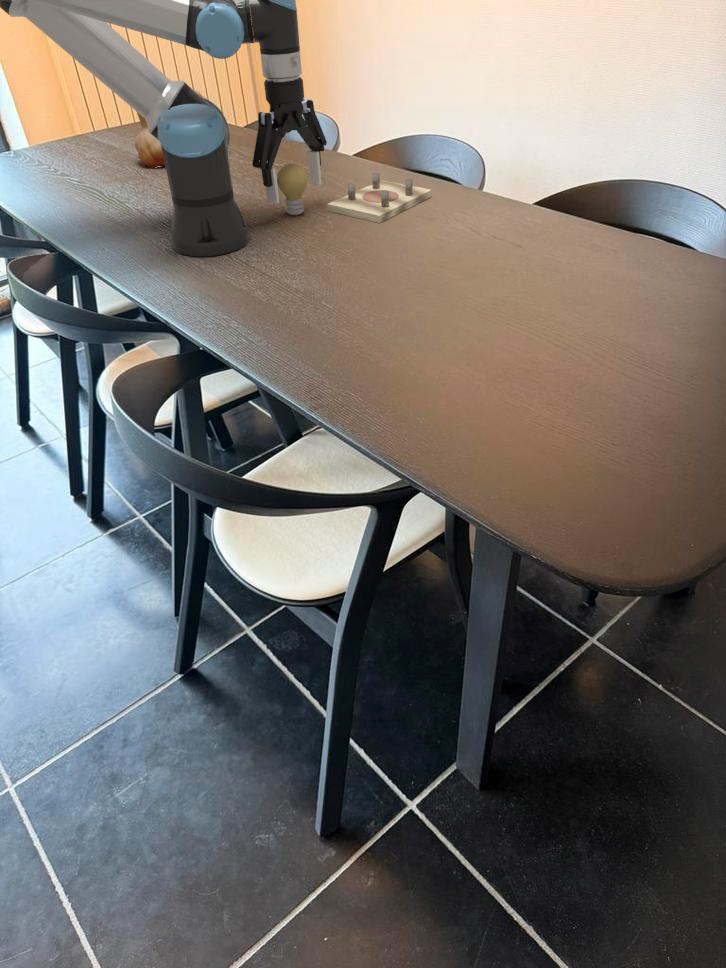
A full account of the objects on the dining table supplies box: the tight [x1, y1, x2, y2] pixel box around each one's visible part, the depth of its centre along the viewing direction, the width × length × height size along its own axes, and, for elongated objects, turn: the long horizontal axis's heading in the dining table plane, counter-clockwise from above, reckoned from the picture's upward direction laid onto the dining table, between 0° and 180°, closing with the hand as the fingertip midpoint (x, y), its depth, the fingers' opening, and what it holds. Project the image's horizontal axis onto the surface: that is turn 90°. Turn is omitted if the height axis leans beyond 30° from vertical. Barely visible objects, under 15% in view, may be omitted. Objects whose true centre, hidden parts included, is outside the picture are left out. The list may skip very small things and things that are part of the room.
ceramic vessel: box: [134, 89, 207, 168], centre depth 179 cm, size 14×26×15 cm, turn 148°
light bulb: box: [276, 163, 309, 216], centre depth 142 cm, size 6×6×10 cm
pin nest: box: [326, 172, 433, 224], centre depth 147 cm, size 20×14×4 cm
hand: (295, 192), depth 143 cm, fingers open, 13 cm apart
